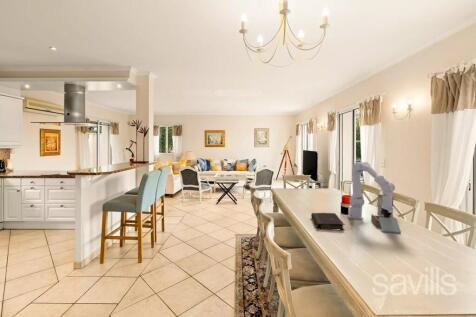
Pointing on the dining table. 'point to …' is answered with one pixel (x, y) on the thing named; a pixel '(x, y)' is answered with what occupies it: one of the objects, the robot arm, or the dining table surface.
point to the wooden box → (376, 220)
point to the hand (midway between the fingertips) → (386, 220)
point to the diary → (327, 221)
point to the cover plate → (389, 225)
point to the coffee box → (380, 200)
